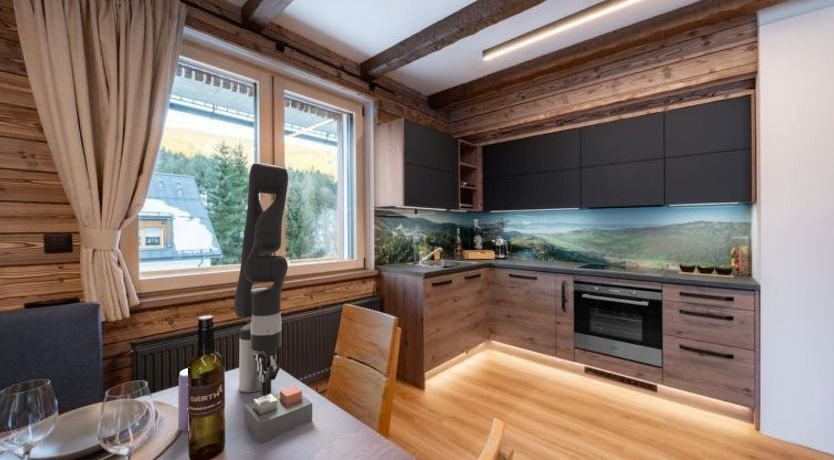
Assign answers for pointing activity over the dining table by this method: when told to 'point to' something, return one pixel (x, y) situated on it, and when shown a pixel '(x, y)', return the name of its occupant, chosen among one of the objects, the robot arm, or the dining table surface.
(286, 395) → the orange cube
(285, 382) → the dining table surface
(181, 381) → the beverage can
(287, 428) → the grey plug holder
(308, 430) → the dining table surface
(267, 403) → the plug
